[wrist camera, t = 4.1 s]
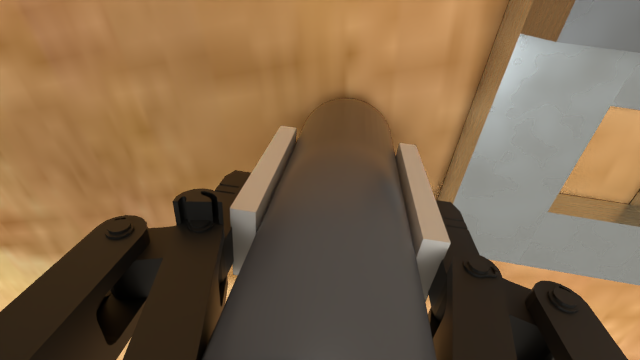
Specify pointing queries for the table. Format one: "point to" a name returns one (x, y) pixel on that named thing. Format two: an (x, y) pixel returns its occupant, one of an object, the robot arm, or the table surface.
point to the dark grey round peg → (331, 254)
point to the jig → (549, 139)
